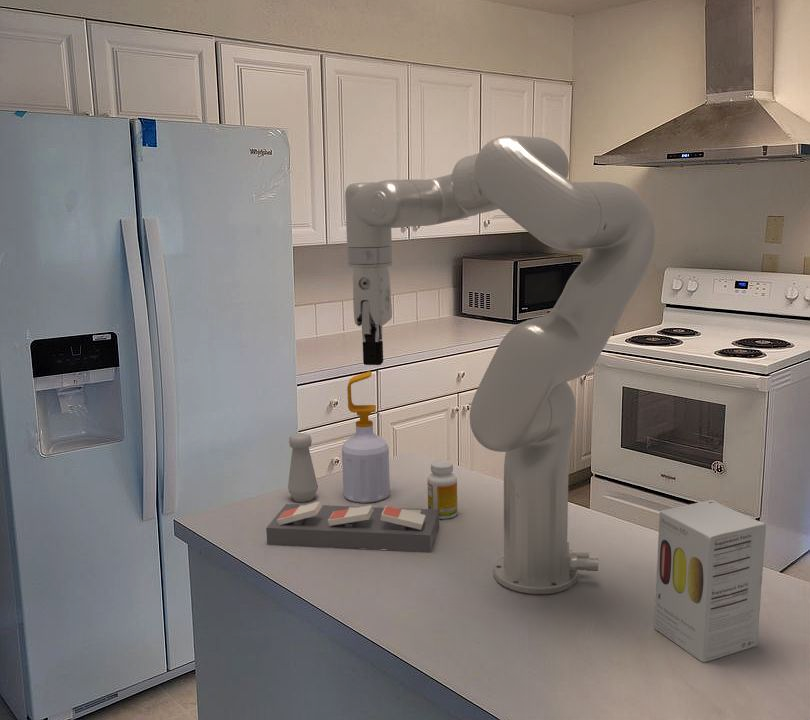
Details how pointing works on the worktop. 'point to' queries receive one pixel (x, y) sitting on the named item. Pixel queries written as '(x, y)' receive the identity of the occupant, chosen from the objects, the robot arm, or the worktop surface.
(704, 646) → the supplement box
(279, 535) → the rocker switch panel
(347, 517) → the rocker middle
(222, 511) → the worktop surface
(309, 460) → the salt shaker
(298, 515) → the rocker far
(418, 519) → the rocker near
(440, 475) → the supplement bottle
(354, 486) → the soap bottle
